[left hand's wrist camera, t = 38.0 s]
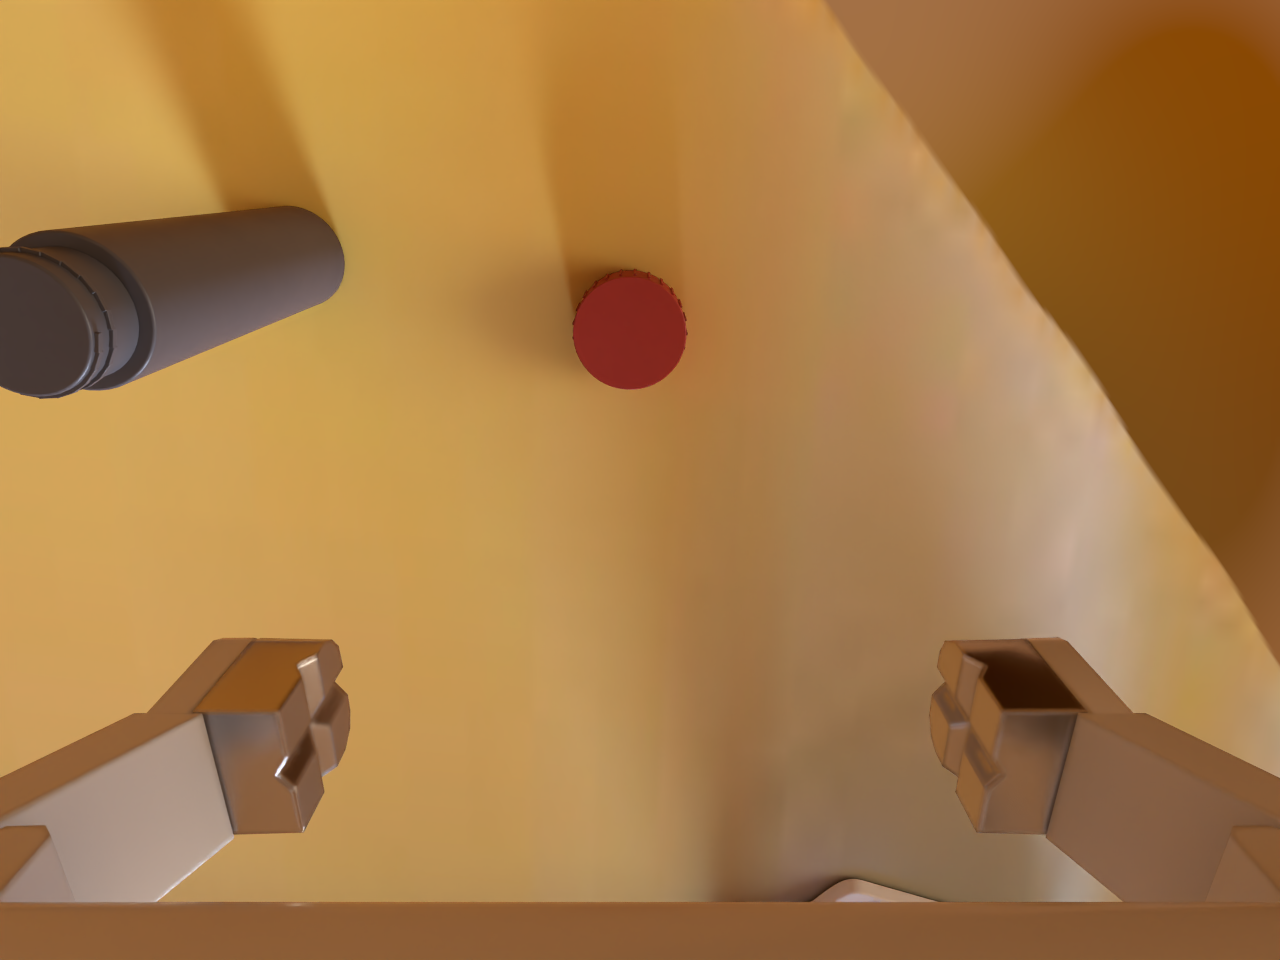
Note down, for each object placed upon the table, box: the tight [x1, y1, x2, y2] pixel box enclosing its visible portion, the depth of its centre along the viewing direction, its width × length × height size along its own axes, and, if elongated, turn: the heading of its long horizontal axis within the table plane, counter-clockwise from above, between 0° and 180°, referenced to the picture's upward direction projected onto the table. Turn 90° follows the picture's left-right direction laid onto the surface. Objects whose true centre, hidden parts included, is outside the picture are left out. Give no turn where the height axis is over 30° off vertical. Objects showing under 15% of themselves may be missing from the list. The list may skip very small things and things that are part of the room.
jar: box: [0, 206, 344, 399], centre depth 28 cm, size 4×4×17 cm
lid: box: [573, 269, 688, 389], centre depth 36 cm, size 5×5×2 cm
